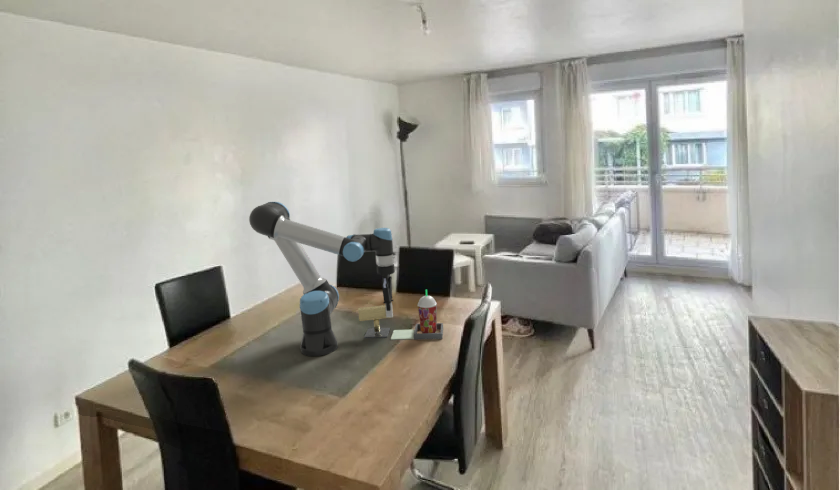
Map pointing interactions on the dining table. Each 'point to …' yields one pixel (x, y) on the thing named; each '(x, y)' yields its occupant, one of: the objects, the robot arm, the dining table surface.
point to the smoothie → (427, 314)
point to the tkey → (373, 315)
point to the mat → (402, 334)
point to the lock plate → (377, 333)
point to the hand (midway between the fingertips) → (389, 316)
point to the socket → (428, 335)
